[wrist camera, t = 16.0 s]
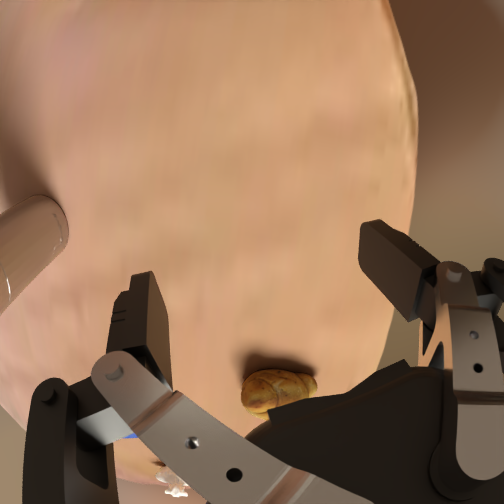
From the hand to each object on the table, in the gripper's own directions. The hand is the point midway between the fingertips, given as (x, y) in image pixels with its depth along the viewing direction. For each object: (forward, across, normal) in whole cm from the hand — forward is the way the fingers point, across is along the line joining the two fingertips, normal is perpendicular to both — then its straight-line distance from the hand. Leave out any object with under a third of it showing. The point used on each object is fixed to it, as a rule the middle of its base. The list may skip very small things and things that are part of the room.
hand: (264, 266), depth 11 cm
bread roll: (+20, -4, +38) cm, 43 cm away
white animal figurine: (+22, +24, +72) cm, 79 cm away
